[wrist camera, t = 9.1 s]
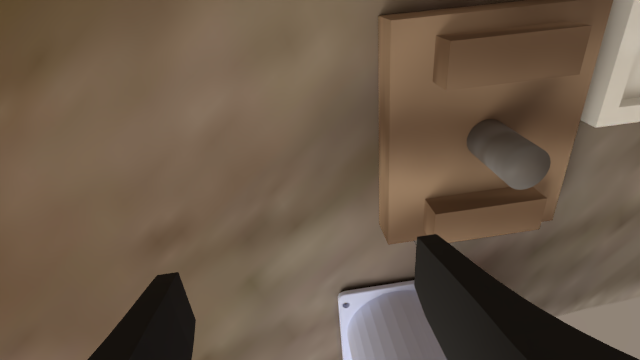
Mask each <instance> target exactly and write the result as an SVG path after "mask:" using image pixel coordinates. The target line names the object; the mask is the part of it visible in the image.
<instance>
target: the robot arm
mask: <svg viewBox="0 0 640 360" xmlns="http://www.w3.org/2000/svg"><path fill="white" fill-rule="evenodd" d="M344 303H346V304H344ZM338 307H339V319H340V331H341V343H342V356H343V360H639V359H637V358H635V357H633V356H630V355H628V354H626V353H624V352H622V351H619V350H617V349H615V348H613V347H611V346H609V345H607V344H605V343H603V342H601V341H599V340H597V339H595V338H593V337H591V336H589V335H587V334H585V333H583V332H581V331H579V330H577V329H575V328H574V327H572V326H570V325H568V324H566V323H564V322H563V321H561V320H559V319H558V318H556V317H554V316H552V315H551V314H549V313H547V312H545V311H544V310H542V309H540V308H539V307H537V306H535V305H534V304H532V303H530V302H529V301H527V300H526V299H524V298H523V297H521V296H520V295H518V294H517V293H515V292H514V291H512V290H511V289H509V288H508V287H506V286H505V285H503V284H502V283H500V282H499V281H498V280H496V279H495V278H493V277H492V276H491V275H489V274H488V273H486V272H485V271H484V270H482V269H481V268H480V267H478V266H477V265H476V264H474V263H473V262H472V261H470V260H469V259H468V258H467V257H465V256H464V255H463V254H461V253H460V252H459V251H458V250H456V249H455V248H454V247H453V246H451V245H450V244H449V243H448V242H446V241H445V240H444V239H442V238H441V237H440V236H439V235H437V234H432V235H425V236H419V237H417V247H416V264H415V280H412V281H406V282H399V283H393V284H386V285H380V286H374V287H367V288H361V289H354V290H348V291H343V292H341V293H339V295H338ZM195 321H196V320H195V317H194V314H193V312H192V309H191V306H190V303H189V301H188V298H187V295H186V292H185V290H184V287H183V284H182V281H181V279H180V276H179V273H178V272H176V273H170V274H163V275H157V276H156V277H155V279H154V280H153V281H152V282H151V283H150V285H149V286H148V287H147V288H146V290H145V291H144V292H143V293H142V295H141V296H140V297H139V299H138V300H137V301H136V302H135V304H134V305H133V306H132V307H131V309H130V310H129V311H128V312H127V314H126V315H125V316H124V317H123V319H122V320H121V321H120V322H119V323H118V325H117V326H116V327H115V328H114V330H113V331H112V332H111V333H110V334H109V336H108V337H107V338H106V339H105V340H104V342H103V343H102V344H101V345H100V346H99V347H98V348H97V350H96V351H95V352H94V353H93V354H92V355H91V356H90V357H89V359H88V360H191V358H192V352H193V343H194V332H195Z"/></svg>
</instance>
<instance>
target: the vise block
mask: <svg viewBox="0 0 640 360" xmlns="http://www.w3.org/2000/svg"><path fill="white" fill-rule="evenodd" d="M612 3H613V0H522V1H512V2H503V3H494V4H484V5H475V6H465V7H456V8H446V9H437V10H427V11H418V12H408V13H399V14H389V15H380V16H378V62H379V225H380V227H381V229H382V231H383V234H384V236H385V238H386V240H387V243H388V245H389V244H396V243H402V242H409V241H414V242H415V244H416V245H417V237H419V236H425V235H432V234H437V235H439V236H440V237H441V238H442V239H444V240H445V241H446V242H448V243H451V242H458V241H464V240H471V239H478V238H484V237H491V236H497V235H504V234H511V233H517V232H524V231H531V230H537V229H540V225H541V222H543V221H550V220H553V216H554V213H555V209H556V205H557V202H558V198H559V195H560V191H561V187H562V184H563V180H564V177H565V173H566V169H567V166H568V162H569V158H570V155H571V151H572V148H573V144H574V140H575V137H576V133H577V130H578V126H579V122H580V119H581V115H582V112H583V108H584V104H585V101H586V97H587V94H588V90H589V86H590V83H591V79H592V75H593V72H594V68H595V65H596V61H597V57H598V54H599V50H600V47H601V43H602V39H603V36H604V32H605V29H606V25H607V21H608V18H609V14H610V11H611V7H612Z"/></svg>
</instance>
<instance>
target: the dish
mask: <svg viewBox="0 0 640 360" xmlns="http://www.w3.org/2000/svg"><path fill="white" fill-rule="evenodd" d="M580 120H581V121H583V122H585V123H587V124H589V125H591V126H593V127H604V126H611V125H619V124H626V123H634V122H640V0H613V3H612V7H611V11H610V14H609V18H608V21H607V25H606V29H605V32H604V36H603V39H602V43H601V47H600V50H599V54H598V57H597V61H596V65H595V68H594V72H593V75H592V79H591V83H590V86H589V90H588V94H587V97H586V101H585V104H584V108H583V112H582V115H581V119H580Z"/></svg>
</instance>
